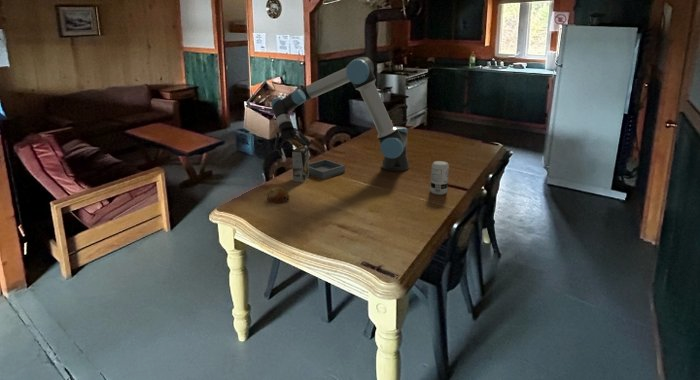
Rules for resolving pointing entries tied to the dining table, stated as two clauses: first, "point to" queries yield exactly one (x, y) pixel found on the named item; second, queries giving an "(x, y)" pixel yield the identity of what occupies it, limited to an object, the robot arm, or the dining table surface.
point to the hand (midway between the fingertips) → (297, 158)
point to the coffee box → (300, 164)
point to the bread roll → (277, 195)
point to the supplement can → (439, 177)
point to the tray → (325, 169)
